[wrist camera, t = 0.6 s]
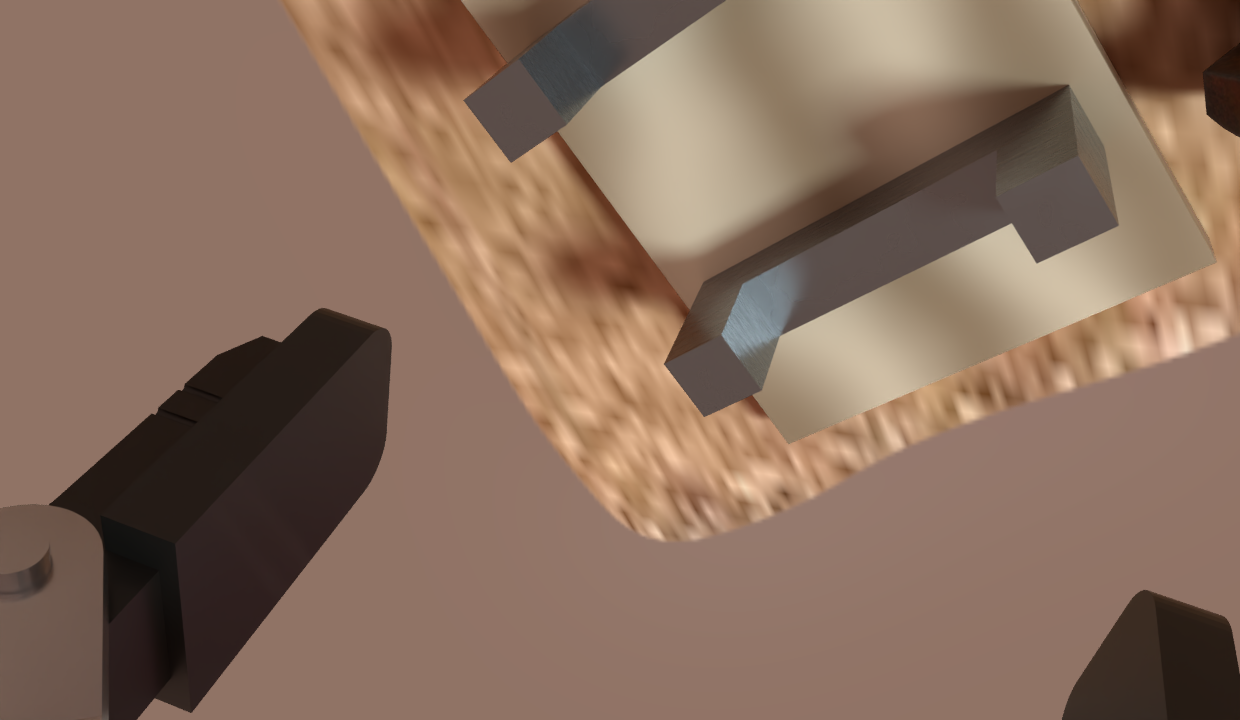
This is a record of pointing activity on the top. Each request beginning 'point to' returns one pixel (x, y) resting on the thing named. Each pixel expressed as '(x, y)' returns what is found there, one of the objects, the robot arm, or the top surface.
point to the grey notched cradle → (839, 242)
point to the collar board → (865, 172)
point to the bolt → (1224, 91)
